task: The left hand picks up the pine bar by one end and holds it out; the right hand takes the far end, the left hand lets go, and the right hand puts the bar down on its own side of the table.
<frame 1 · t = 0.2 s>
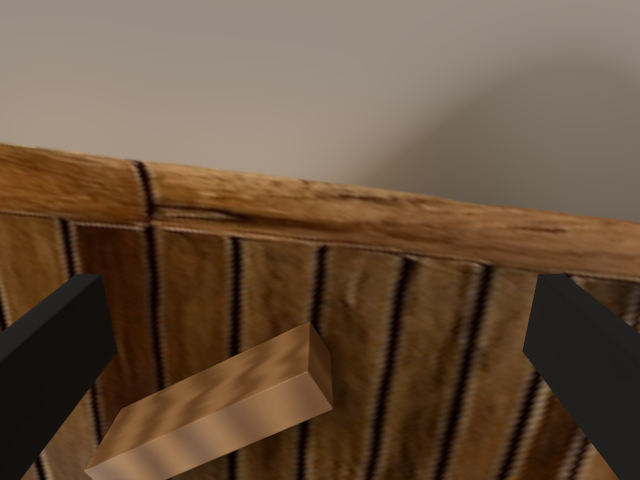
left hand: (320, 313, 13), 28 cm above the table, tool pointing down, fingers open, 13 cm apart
bar: (223, 381, 47), on the table
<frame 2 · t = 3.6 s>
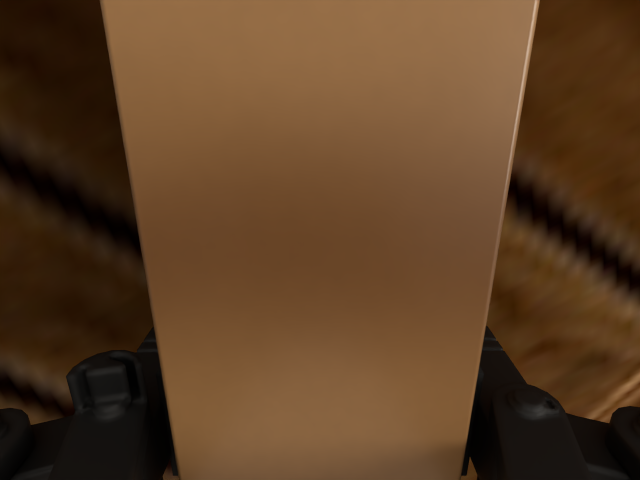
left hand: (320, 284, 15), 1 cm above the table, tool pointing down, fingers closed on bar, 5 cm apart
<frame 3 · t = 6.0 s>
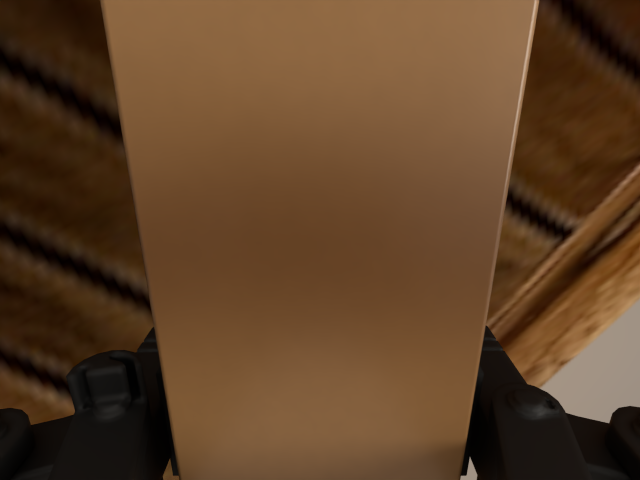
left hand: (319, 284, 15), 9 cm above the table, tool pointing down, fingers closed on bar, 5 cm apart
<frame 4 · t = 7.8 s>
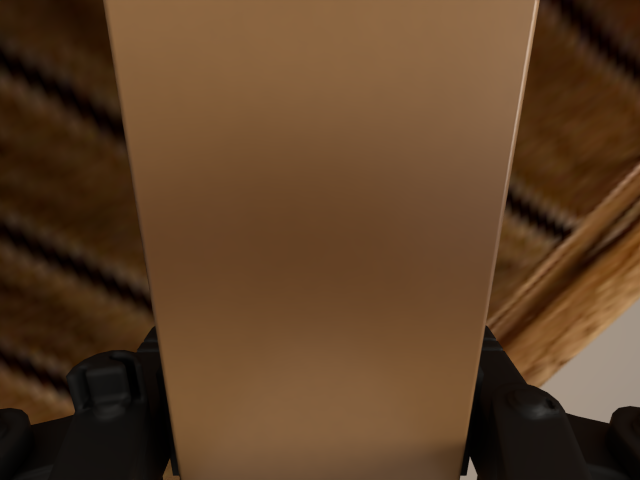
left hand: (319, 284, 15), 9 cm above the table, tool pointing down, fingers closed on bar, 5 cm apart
when the left hand's fingers open (10 cm above the table, at t = 8.7 s): bar stays where it is, held by the right hand.
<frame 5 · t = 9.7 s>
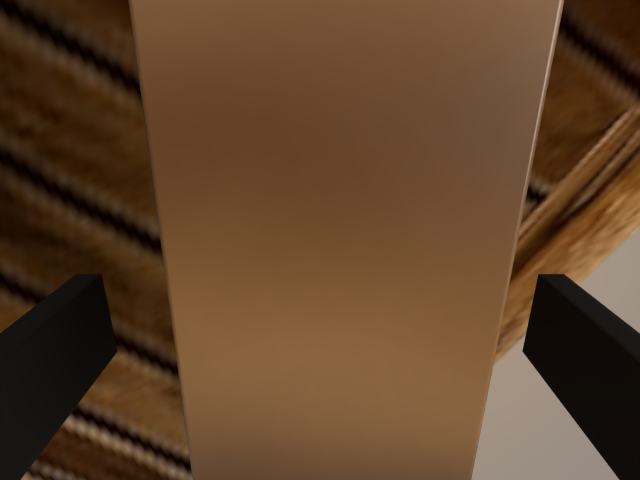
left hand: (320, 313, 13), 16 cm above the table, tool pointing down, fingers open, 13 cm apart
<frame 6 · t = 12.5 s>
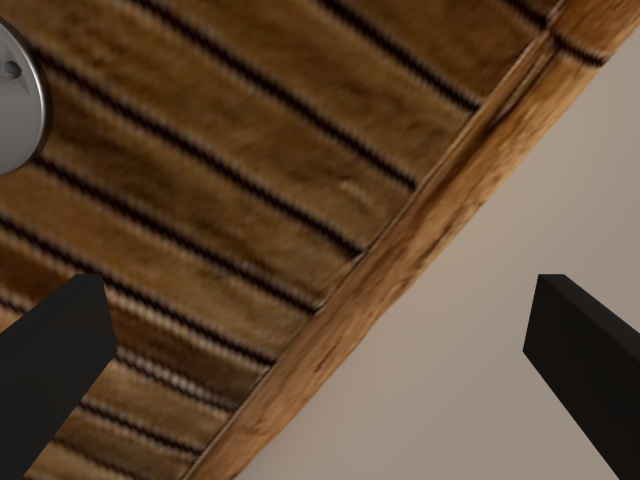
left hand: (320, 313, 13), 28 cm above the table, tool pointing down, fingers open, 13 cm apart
when the right hand's fingers open (5 cm above the table, at t = 17.4 s): bar drops 1 cm, on the table.
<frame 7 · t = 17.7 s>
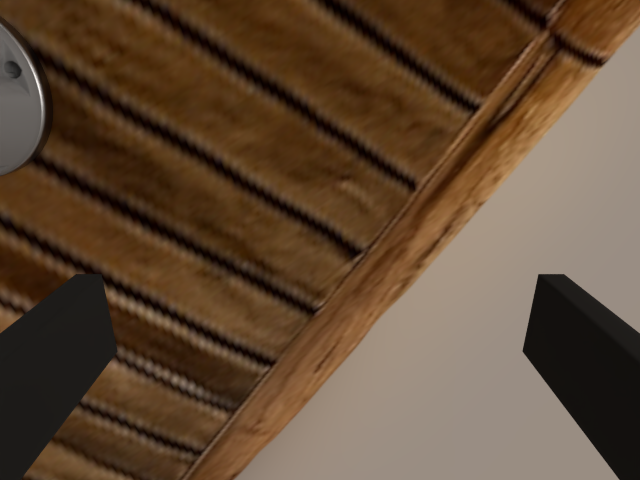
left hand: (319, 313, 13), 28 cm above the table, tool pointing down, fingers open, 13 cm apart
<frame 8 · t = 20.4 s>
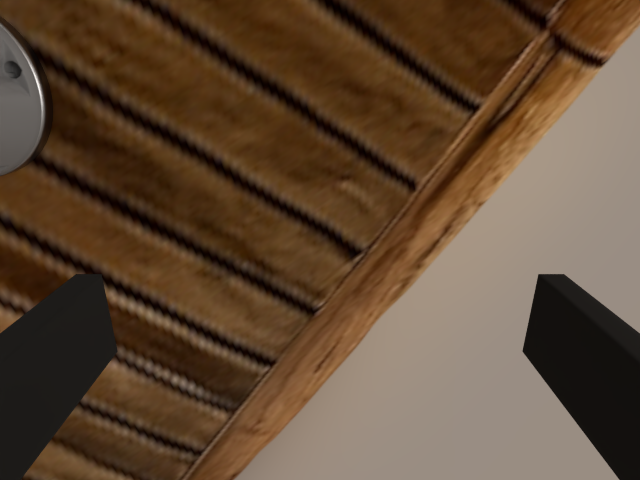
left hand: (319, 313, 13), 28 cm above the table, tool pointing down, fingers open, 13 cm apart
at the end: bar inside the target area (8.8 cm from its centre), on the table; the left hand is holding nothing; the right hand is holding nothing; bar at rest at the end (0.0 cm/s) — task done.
